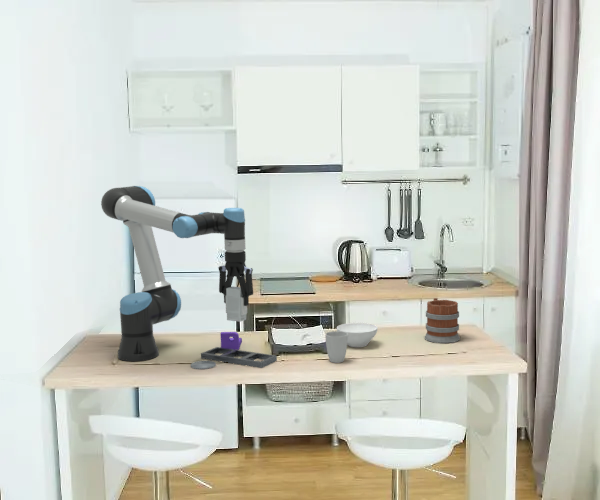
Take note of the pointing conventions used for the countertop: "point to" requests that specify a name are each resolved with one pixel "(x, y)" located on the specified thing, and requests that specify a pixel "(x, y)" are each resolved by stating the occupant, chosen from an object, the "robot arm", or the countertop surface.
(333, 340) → the cup
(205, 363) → the coaster
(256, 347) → the countertop surface
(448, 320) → the mug
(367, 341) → the bowl
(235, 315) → the skincare box
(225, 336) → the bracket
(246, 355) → the dark gray compartment tray
